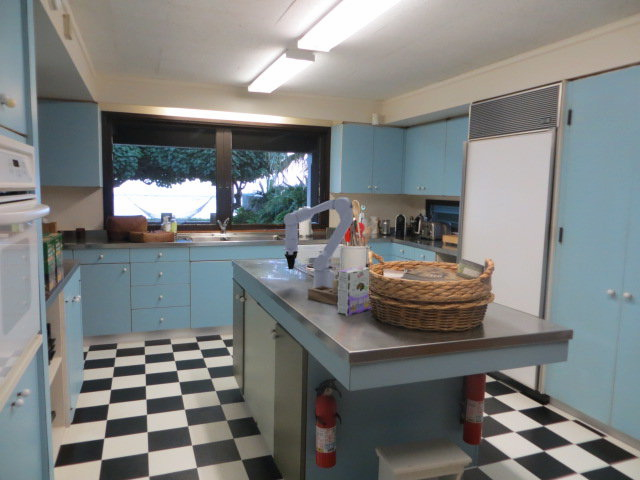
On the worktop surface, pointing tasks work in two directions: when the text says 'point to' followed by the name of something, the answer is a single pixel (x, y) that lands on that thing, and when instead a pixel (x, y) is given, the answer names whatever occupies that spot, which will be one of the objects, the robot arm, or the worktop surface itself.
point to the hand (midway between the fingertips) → (291, 267)
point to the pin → (335, 286)
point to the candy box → (353, 291)
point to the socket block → (323, 294)
